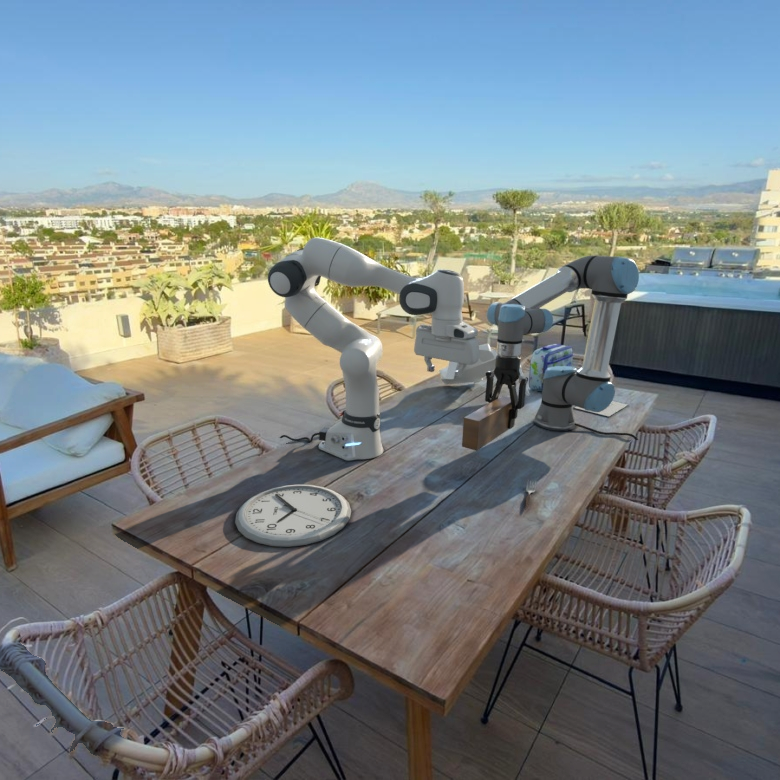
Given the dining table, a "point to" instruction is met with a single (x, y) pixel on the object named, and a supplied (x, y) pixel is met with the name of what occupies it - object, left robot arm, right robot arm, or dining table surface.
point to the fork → (529, 490)
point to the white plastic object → (473, 368)
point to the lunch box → (548, 362)
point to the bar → (486, 423)
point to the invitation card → (608, 409)
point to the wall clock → (293, 515)
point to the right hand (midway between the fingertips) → (502, 425)
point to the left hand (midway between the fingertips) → (444, 374)
